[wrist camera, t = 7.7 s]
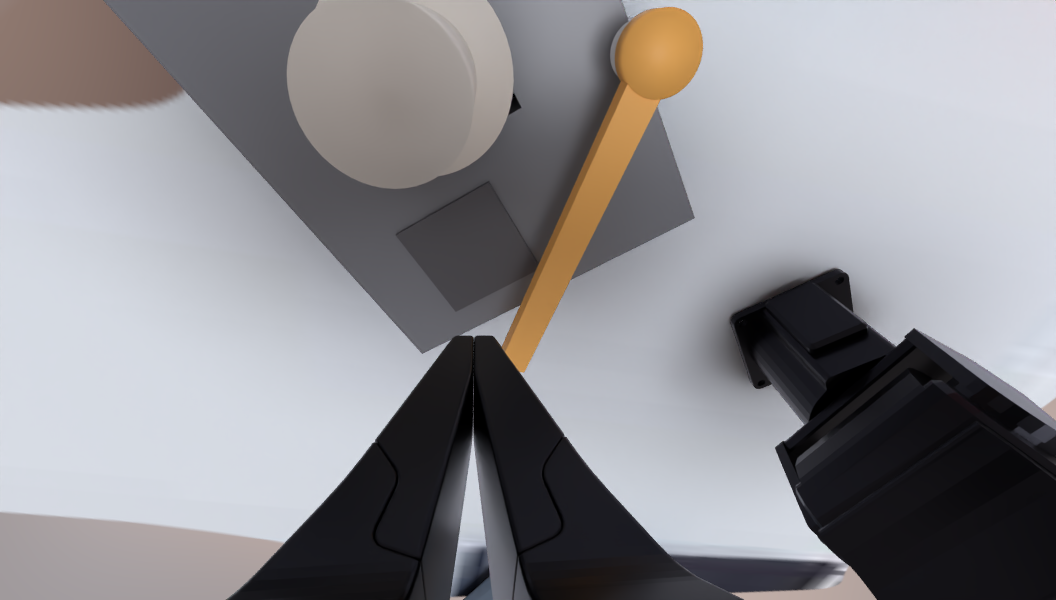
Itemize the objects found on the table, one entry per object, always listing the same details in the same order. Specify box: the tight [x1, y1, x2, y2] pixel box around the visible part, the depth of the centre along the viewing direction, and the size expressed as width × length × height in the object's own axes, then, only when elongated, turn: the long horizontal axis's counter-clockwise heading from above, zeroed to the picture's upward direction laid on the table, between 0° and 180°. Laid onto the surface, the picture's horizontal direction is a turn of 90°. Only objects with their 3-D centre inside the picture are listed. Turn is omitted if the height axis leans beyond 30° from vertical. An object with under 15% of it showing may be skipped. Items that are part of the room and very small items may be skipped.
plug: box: [287, 0, 514, 189], centre depth 13 cm, size 6×6×9 cm
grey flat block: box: [104, 0, 695, 354], centre depth 15 cm, size 20×15×4 cm
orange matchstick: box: [502, 7, 703, 373], centre depth 16 cm, size 14×2×1 cm, turn 158°
